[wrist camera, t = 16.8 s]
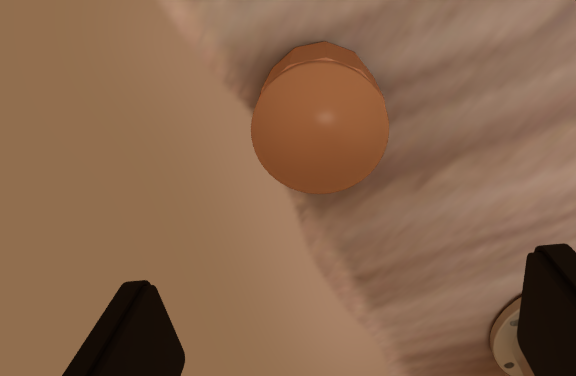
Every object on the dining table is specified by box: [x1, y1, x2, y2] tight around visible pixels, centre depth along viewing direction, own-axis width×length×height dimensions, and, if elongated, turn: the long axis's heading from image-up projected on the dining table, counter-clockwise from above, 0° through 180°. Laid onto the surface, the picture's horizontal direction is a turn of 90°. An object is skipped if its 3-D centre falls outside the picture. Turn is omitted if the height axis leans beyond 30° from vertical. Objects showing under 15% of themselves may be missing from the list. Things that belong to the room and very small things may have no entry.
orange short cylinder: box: [251, 41, 389, 194], centre depth 22 cm, size 7×7×6 cm
